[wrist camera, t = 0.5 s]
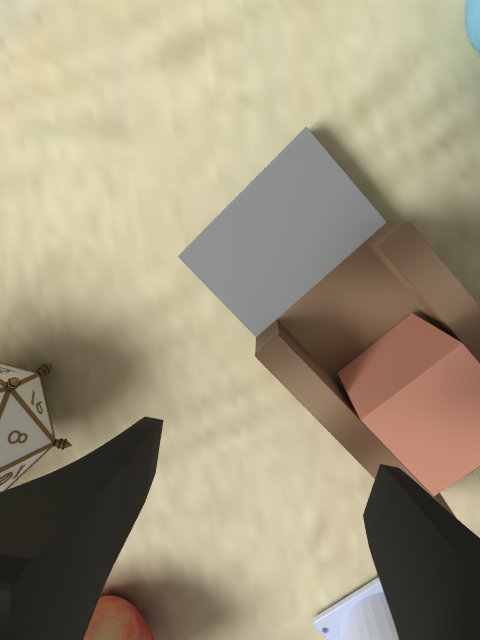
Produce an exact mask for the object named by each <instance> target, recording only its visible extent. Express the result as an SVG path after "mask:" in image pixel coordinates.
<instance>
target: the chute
mask: <svg viewBox="0 0 480 640" xmlns="http://www.w3.org/2000/svg"><path fill="white" fill-rule="evenodd" d="M412 313H413V314H415V315H416V316H418V317H420V318H421V319H423V320H425V321H426V322H428V323H430V324H431V325H433V326H435V327H436V328H438V329H440V330H441V331H443V332H445V333H446V334H448V335H450V336H451V337H453V338H454V339H456V340H458V341H459V342H461V343H463V344H464V346H465V347H466V348H467V349H468V350H469V351H470V353H471V354H472V355H473V356H474V357H475V358H476V360H477V361H478V362H479V363H480V306H479V305H478V303H477V302H476V301H475V300H474V299H473V297H472V296H471V295H470V294H469V293H468V291H467V290H466V289H465V288H464V286H463V285H462V284H461V283H460V282H459V280H458V279H457V278H456V277H455V276H454V274H453V273H452V272H451V271H450V270H449V268H448V267H447V266H446V265H445V264H444V262H443V261H442V260H441V259H440V258H439V256H438V255H437V254H436V253H435V252H434V250H433V249H432V248H431V247H430V246H429V244H428V243H427V242H426V241H425V239H424V238H423V237H422V236H421V235H420V233H419V232H418V231H417V230H416V229H415V227H414V226H413V225H412V224H411V223H410V222H386V223H385V224H384V225H383V226H382V227H381V228H380V229H378V230H377V231H376V232H375V233H374V234H373V235H372V236H370V237H369V238H368V239H367V240H366V241H365V242H364V243H363V244H361V245H360V246H359V247H358V248H357V249H356V250H355V251H353V252H352V253H351V254H350V255H349V256H348V257H347V258H345V259H344V260H343V261H342V262H341V263H340V264H339V265H338V266H336V267H335V268H334V269H333V270H332V271H331V272H330V273H328V274H327V275H326V276H325V277H324V278H323V279H322V280H321V281H319V282H318V283H317V284H316V285H315V286H314V287H313V288H311V289H310V290H309V291H308V292H307V293H306V294H305V295H304V296H302V297H301V298H300V299H299V300H298V301H297V302H296V303H294V304H293V305H292V306H291V307H290V308H289V309H288V310H287V311H285V312H284V313H283V314H282V315H281V316H280V317H279V318H277V319H276V320H275V321H274V322H273V323H272V324H271V325H270V326H268V327H267V328H266V329H265V330H264V331H263V332H262V333H260V334H259V335H258V336H257V337H256V350H255V357H256V358H257V359H258V360H259V361H260V362H261V363H262V364H263V365H264V366H265V367H266V368H267V369H268V370H269V371H270V372H271V373H272V374H273V375H274V376H275V377H276V378H277V379H278V380H279V381H280V382H281V383H282V384H283V385H284V386H285V387H286V388H287V389H288V390H289V391H290V393H291V394H292V395H293V396H294V397H295V398H296V399H297V400H298V401H299V402H300V403H301V404H302V405H303V406H304V407H305V408H306V409H307V410H308V411H309V412H310V413H311V414H312V415H313V416H314V417H315V418H316V419H317V420H318V421H319V422H320V423H321V424H322V425H323V426H324V427H325V428H326V429H327V430H328V431H329V432H330V433H331V434H332V435H333V436H334V437H335V438H336V439H337V440H338V441H339V442H340V444H341V445H342V446H343V447H344V448H345V449H346V450H347V451H348V452H349V453H350V454H351V455H352V456H353V457H354V458H355V459H356V460H357V461H358V462H359V463H360V464H361V465H362V466H363V467H364V468H365V469H366V470H367V471H368V472H369V473H370V474H371V475H372V476H373V477H374V478H376V475H377V472H378V469H379V466H380V464H383V465H388V466H393V467H398V468H400V469H401V470H403V471H404V472H405V473H406V474H407V475H409V476H410V477H411V478H412V479H413V480H414V481H415V482H417V483H418V484H419V485H420V486H421V487H422V488H423V489H424V490H425V491H427V492H428V493H429V494H430V495H431V496H432V497H433V498H434V499H435V500H436V501H437V502H439V503H440V504H441V505H442V506H443V507H444V508H445V509H446V510H447V511H449V512H450V513H451V514H452V515H453V516H454V517H455V515H454V514H453V512H452V511H451V509H450V508H449V506H448V505H447V503H446V502H445V500H444V499H443V497H442V496H441V494H440V493H438V494H437V495H435V496H433V495H432V494H431V493H430V492H429V491H428V490H427V489H426V488H425V487H424V486H423V485H422V484H421V483H420V482H419V481H418V480H417V478H416V477H415V476H414V475H413V474H412V473H411V472H410V471H409V470H408V469H407V468H406V467H405V466H404V465H403V464H402V463H401V462H400V461H399V460H398V459H397V458H396V456H395V455H394V454H393V453H392V452H391V451H390V450H389V449H388V448H387V447H386V446H385V445H384V444H383V443H382V442H381V441H380V440H379V439H378V438H377V437H376V436H375V435H374V433H373V432H372V431H371V430H370V429H369V428H368V427H367V426H366V425H365V424H364V423H363V422H362V421H361V420H360V418H359V416H358V414H357V412H356V410H355V408H354V406H353V404H352V402H351V400H350V398H349V396H348V394H347V392H346V390H345V388H344V385H343V383H342V381H341V379H340V377H339V375H338V372H339V371H340V370H342V369H343V368H344V367H345V366H347V365H348V364H349V363H350V362H352V361H353V360H354V359H355V358H357V357H358V356H359V355H360V354H362V353H363V352H364V351H365V350H367V349H368V348H369V347H370V346H372V345H373V344H374V343H375V342H377V341H378V340H379V339H380V338H382V337H383V336H384V335H385V334H387V333H388V332H389V331H390V330H392V329H393V328H394V327H395V326H397V325H398V324H399V323H400V322H402V321H403V320H404V319H405V318H407V317H408V316H409V315H410V314H412ZM455 518H456V517H455Z"/></svg>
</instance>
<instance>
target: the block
mask: <svg viewBox="0 0 480 640" xmlns="http://www.w3.org/2000/svg"><path fill="white" fill-rule="evenodd" d="M338 375H339V377H340V379H341V381H342V383H343V385H344V388H345V390H346V392H347V394H348V396H349V398H350V400H351V402H352V404H353V406H354V408H355V410H356V412H357V414H358V416H359V418H360V420H361V421H362V422H363V423H364V424H365V425H366V426H367V427H368V428H369V429H370V430H371V431H372V432H373V433H374V435H375V436H376V437H377V438H378V439H379V440H380V441H381V442H382V443H383V444H384V445H385V446H386V447H387V448H388V449H389V450H390V451H391V452H392V453H393V454H394V455H395V456H396V458H397V459H398V460H399V461H400V462H401V463H402V464H403V465H404V466H405V467H406V468H407V469H408V470H409V471H410V472H411V473H412V474H413V475H414V476H415V477H416V478H417V480H418V481H419V482H420V483H421V484H422V485H423V486H424V487H425V488H426V489H427V490H428V491H429V492H430V493H431V494H432V495H433V496H435V495H437V494H438V493H440V492H441V491H443V490H444V489H446V488H447V487H449V486H450V485H452V484H453V483H455V482H456V481H458V480H459V479H461V478H463V477H464V476H466V475H467V474H469V473H470V472H472V471H473V470H475V469H476V468H478V467H479V466H480V363H479V362H478V361H477V360H476V358H475V357H474V356H473V355H472V354H471V353H470V351H469V350H468V349H467V348H466V347H465V346H464V344H463V343H461V342H459V341H458V340H456V339H454V338H453V337H451V336H450V335H448V334H446V333H445V332H443V331H441V330H440V329H438V328H436V327H435V326H433V325H431V324H430V323H428V322H426V321H425V320H423V319H421V318H420V317H418V316H416V315H415V314H413V313H412V314H410V315H409V316H408V317H407V318H405V319H404V320H403V321H402V322H400V323H399V324H398V325H397V326H395V327H394V328H393V329H392V330H390V331H389V332H388V333H387V334H385V335H384V336H383V337H382V338H380V339H379V340H378V341H377V342H375V343H374V344H373V345H372V346H370V347H369V348H368V349H367V350H365V351H364V352H363V353H362V354H360V355H359V356H358V357H357V358H355V359H354V360H353V361H352V362H350V363H349V364H348V365H347V366H345V367H344V368H343V369H342V370H340V371H339V372H338Z"/></svg>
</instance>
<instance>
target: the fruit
mask: <svg viewBox="0 0 480 640" xmlns="http://www.w3.org/2000/svg"><path fill="white" fill-rule="evenodd" d="M83 640H154V639H153V636H152V633H151V631H150V629H149V627H148V625H147V623H146V621H145V619H144V618H143V616H142V615H141V614H140V612H139V611H138V610H137V608H136V607H135V606H134V605H132V604H131V603H130V602H128V601H127V600H125V599H123V598H120V597H117V596H102V597H100V598H99V600H98V603H97V605H96V608H95V611H94V613H93V616H92V618H91V621H90V623H89V626H88V629H87V631H86V634H85V636H84V639H83Z"/></svg>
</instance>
